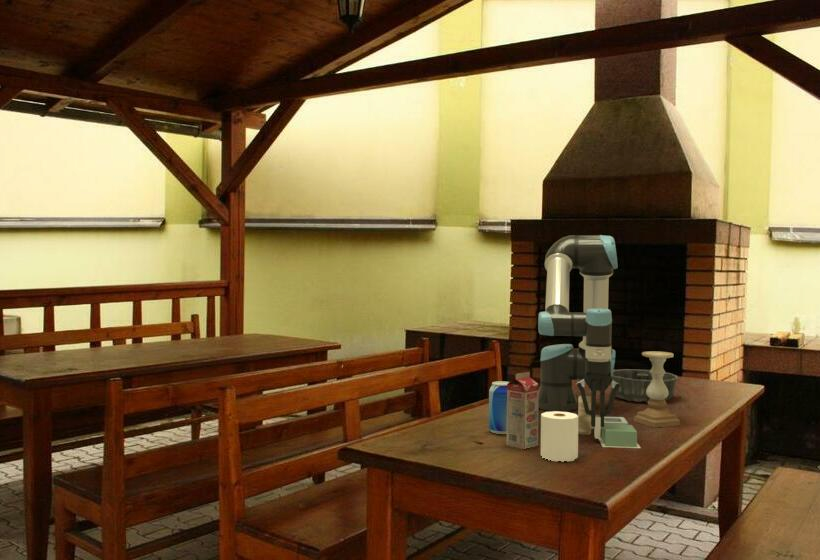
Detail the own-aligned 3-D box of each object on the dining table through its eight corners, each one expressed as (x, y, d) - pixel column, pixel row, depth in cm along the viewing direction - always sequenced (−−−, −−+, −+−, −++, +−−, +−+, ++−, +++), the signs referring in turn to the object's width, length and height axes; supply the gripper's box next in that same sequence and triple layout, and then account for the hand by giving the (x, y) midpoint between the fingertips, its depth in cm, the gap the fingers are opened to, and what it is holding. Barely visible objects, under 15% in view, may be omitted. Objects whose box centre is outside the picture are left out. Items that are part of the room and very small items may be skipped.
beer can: (494, 436, 238) (495, 385, 237) (485, 430, 246) (485, 381, 245) (519, 434, 240) (519, 384, 239) (509, 428, 248) (509, 380, 247)
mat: (602, 448, 224) (602, 446, 224) (597, 438, 235) (597, 437, 235) (640, 449, 223) (640, 448, 223) (634, 440, 234) (634, 438, 234)
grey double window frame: (580, 429, 247) (580, 421, 247) (578, 423, 256) (578, 415, 256) (627, 430, 245) (628, 423, 245) (623, 424, 254) (623, 417, 254)
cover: (605, 446, 225) (605, 431, 225) (601, 438, 234) (601, 424, 234) (636, 447, 224) (637, 431, 224) (631, 439, 233) (631, 424, 232)
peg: (578, 435, 239) (579, 397, 239) (577, 432, 243) (577, 395, 242) (591, 436, 239) (592, 398, 238) (590, 433, 242) (590, 395, 242)
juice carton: (506, 445, 226) (507, 372, 225) (520, 442, 231) (520, 370, 230) (524, 450, 222) (525, 375, 221) (538, 446, 226) (538, 372, 225)
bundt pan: (682, 396, 304) (683, 371, 304) (672, 408, 281) (672, 382, 281) (616, 390, 317) (616, 367, 316) (600, 402, 293) (601, 376, 293)
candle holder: (633, 421, 260) (634, 351, 259) (659, 418, 264) (660, 350, 263) (654, 428, 249) (655, 356, 248) (681, 425, 253) (682, 354, 252)
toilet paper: (584, 456, 215) (584, 414, 214) (565, 464, 207) (566, 420, 206) (553, 450, 221) (553, 409, 221) (533, 457, 214) (534, 415, 213)
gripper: (577, 361, 226) (576, 439, 227) (622, 362, 224) (621, 441, 225) (575, 357, 233) (574, 433, 234) (618, 358, 231) (617, 435, 232)
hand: (597, 437), depth 229 cm, fingers closed
